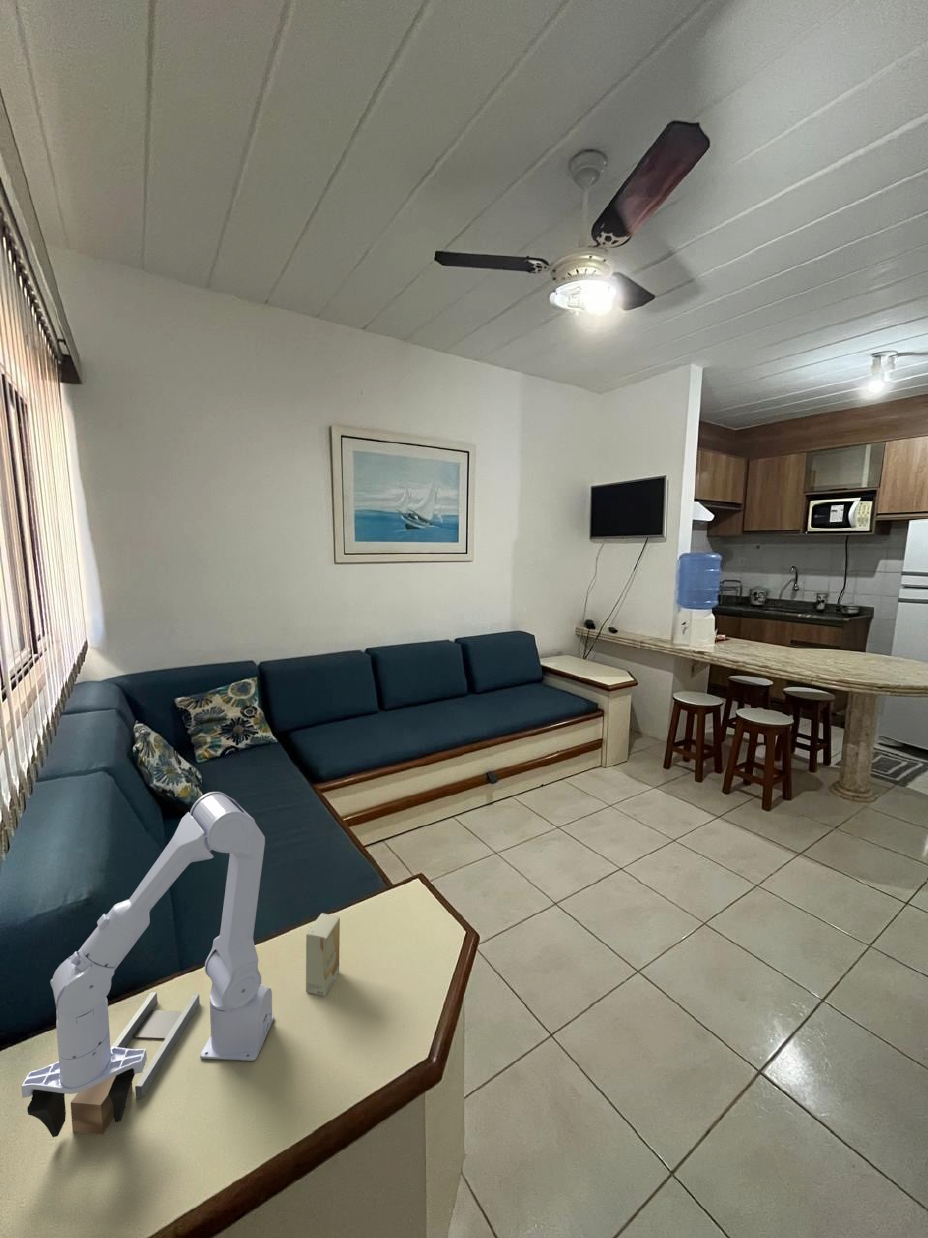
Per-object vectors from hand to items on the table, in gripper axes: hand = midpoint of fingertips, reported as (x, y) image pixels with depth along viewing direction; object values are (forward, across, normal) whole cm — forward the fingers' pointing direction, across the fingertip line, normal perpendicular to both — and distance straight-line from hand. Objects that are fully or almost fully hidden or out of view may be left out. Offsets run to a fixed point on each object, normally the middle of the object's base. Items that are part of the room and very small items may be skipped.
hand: (90, 1122), depth 70 cm
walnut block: (+2, -1, -3) cm, 3 cm away
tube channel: (+1, -4, -12) cm, 13 cm away
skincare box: (+2, -32, -18) cm, 37 cm away
